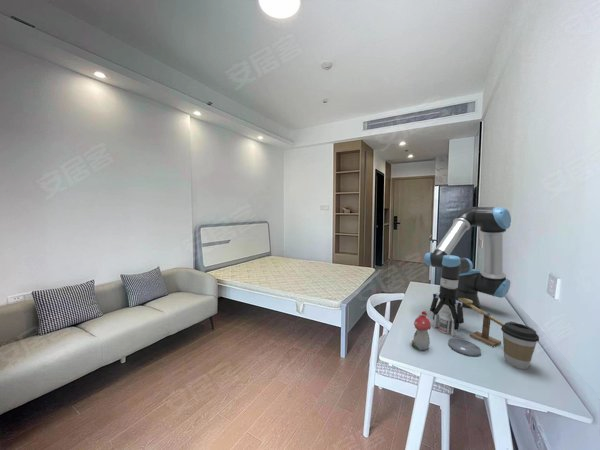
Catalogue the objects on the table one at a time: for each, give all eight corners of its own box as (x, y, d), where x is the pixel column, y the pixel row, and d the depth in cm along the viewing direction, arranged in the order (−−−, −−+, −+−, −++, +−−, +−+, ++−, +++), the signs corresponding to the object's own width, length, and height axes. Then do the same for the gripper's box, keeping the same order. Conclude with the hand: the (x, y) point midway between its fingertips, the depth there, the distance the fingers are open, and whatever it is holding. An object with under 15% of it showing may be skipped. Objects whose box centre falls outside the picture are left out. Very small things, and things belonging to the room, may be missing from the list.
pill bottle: (446, 328, 124) (448, 310, 123) (453, 333, 119) (455, 314, 118) (436, 328, 124) (437, 309, 123) (443, 333, 119) (444, 314, 118)
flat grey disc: (457, 338, 115) (458, 336, 115) (486, 352, 104) (486, 349, 104) (442, 344, 109) (442, 341, 109) (470, 359, 99) (471, 356, 99)
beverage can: (455, 324, 129) (457, 302, 128) (438, 322, 131) (440, 300, 130) (449, 317, 137) (450, 297, 136) (433, 315, 139) (435, 295, 138)
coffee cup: (536, 364, 97) (540, 328, 96) (535, 377, 89) (539, 338, 88) (499, 351, 105) (503, 318, 104) (495, 362, 97) (499, 326, 96)
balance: (460, 325, 127) (463, 297, 126) (523, 353, 104) (527, 318, 103) (452, 328, 124) (455, 298, 123) (515, 357, 101) (519, 321, 100)
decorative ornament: (419, 339, 112) (421, 308, 111) (433, 346, 107) (436, 314, 106) (407, 345, 107) (410, 313, 106) (422, 353, 101) (425, 319, 100)
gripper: (424, 281, 127) (420, 322, 129) (467, 295, 108) (462, 343, 110) (433, 279, 131) (429, 320, 132) (476, 293, 112) (471, 339, 114)
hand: (444, 330), depth 121 cm, fingers open, 8 cm apart
